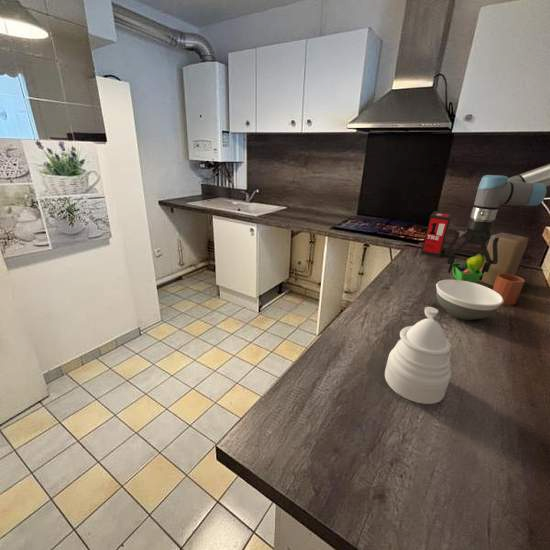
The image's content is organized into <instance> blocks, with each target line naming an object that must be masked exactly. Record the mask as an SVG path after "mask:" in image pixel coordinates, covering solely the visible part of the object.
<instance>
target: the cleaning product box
mask: <svg viewBox="0 0 550 550" xmlns="http://www.w3.org/2000/svg"><path fill="white" fill-rule="evenodd" d="M453 215H454V214H453V212H443V211H437V210H434V211H433V212H432V213H431V215H430V216H429V219H428V224H427V228H426V232H425V236H424V240H423V244H422V248H421V253H420V254H421V255H427V256H432V257H437V258H440V257H441V255H442V253H443V250H444V246H445V243H446V240H447V235H448V233H449V230H450V226H451V221H452V218H453Z"/></svg>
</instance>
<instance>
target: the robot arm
mask: <svg viewBox="0 0 550 550" xmlns="http://www.w3.org/2000/svg"><path fill="white" fill-rule="evenodd" d="M549 186H550V163H548V164H545V165H543V166H540V167H536V168H534V169H531V170H527V171H525V172H522V173H520V174H517V175H513V176H511V177H508V176H506V175H496V174H486V175H483V176H482V177H481V180H480V182H479V185H478V187H477V191H476V195H475V199H474V203H473V206H472V209H471V213H470V215H469V218H470V219H468V222H467V226H466V229H465V231H461V230H457V231H455V234H454V238H453V239H452V241H451V242H450V244H449V245H448V246H447V248H446V249H445V251H444V254H445V255H447V256H448V259H447V261H446V262H447V264H448V265H449V266H448V271H447V273H448V274H451V272H452V271H453V263H455V259H456V254H457V253H458V252H459V251H460V250H461V249H463V247H465V246H466V245H467V244H469V245H476V246H480V248H481V251H482V253H483V254H482V255H484V256H485V259H486V262H485V263H484V266H483V269H482V272H481V273H482V274H484V272H488V271H489V268H490V265H491V264H497V262H498V248H497V243H498V240H499V237H498V236H497V237H494V236H492V234H491V231H492V228H493V226H494V221H495V220H496V217H497V214H498V211H499V207H500V205H513V206H525V207H529V206H530V207H531V206H532V207H533V206H534V207H535V206H538V205H540V204H541V203H542V202H543V201H544V200H545V198H546V195H547V187H549ZM462 236H464V238H465V240H463V241H462V242H461V243H460V244H459V245H458V246H456V248H455V249H453V247H454V246H455V244H456V242H457V241H458V239H459V238H461V237H462ZM490 239H491V242H492V243H493V260H491V258H490V255H489V253H488V250H487V244H486V242H487V241H490ZM452 249H453V250H452ZM451 250H452V251H451ZM482 277H483V275H482V276H481V277H480V279H479V280H482Z"/></svg>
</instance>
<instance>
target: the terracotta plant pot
mask: <svg viewBox="0 0 550 550" xmlns="http://www.w3.org/2000/svg"><path fill="white" fill-rule="evenodd" d="M525 282H526V281H525V278H523V277H522V276H521V277H520V276H518V275H516V274H515V275H511V274H505V273H500V274H498V275H497V277H496V280H495V283H494V286H492V288H491V289H492V290H494V291H496V292H497V293H498V294H500V295H501V296H502V298H503V303H502V304H501V305H506V306H513V305H516V303H517V301H518V298H519V296H520V293H521V291H522V289H523V287H524V284H525Z"/></svg>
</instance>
